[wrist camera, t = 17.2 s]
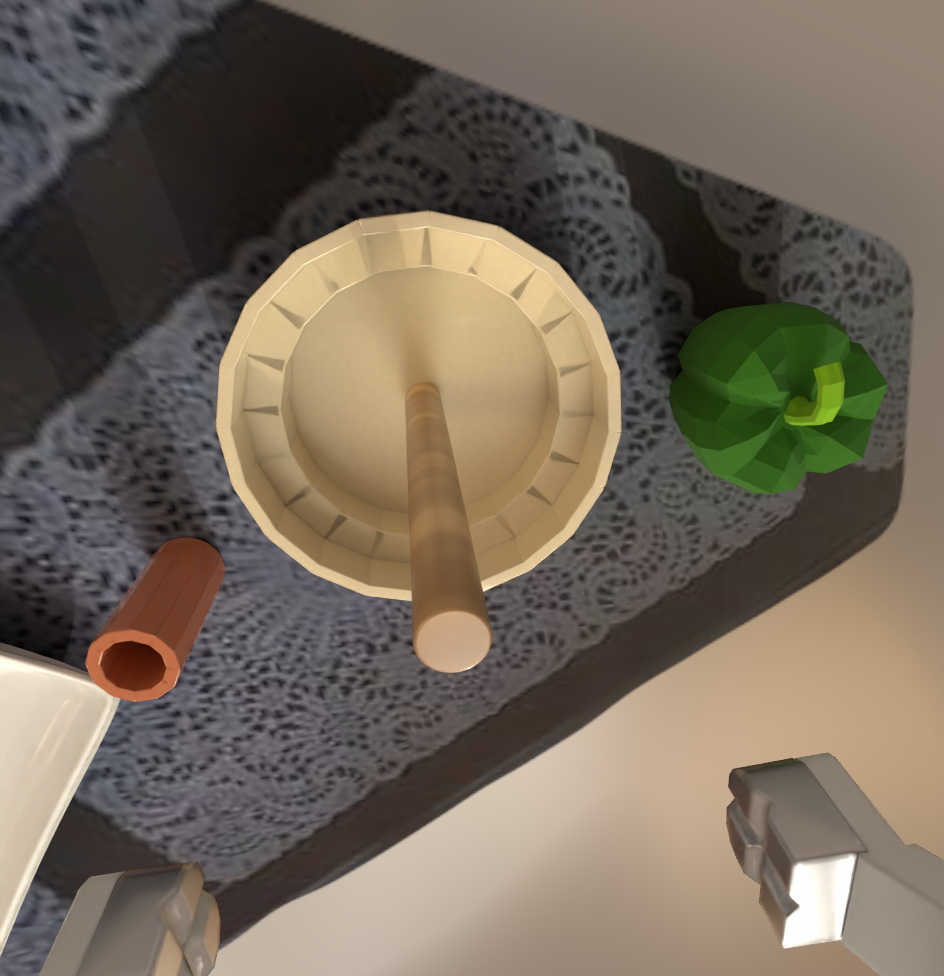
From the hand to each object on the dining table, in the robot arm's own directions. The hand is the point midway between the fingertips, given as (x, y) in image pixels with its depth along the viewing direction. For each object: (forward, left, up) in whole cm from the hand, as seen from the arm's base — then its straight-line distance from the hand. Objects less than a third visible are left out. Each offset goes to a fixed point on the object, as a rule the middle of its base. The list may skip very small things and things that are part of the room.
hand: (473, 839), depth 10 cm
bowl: (0, 0, -26) cm, 26 cm away
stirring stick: (0, 0, -25) cm, 25 cm away
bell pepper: (+1, +16, -26) cm, 31 cm away
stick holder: (+8, -14, -26) cm, 31 cm away
